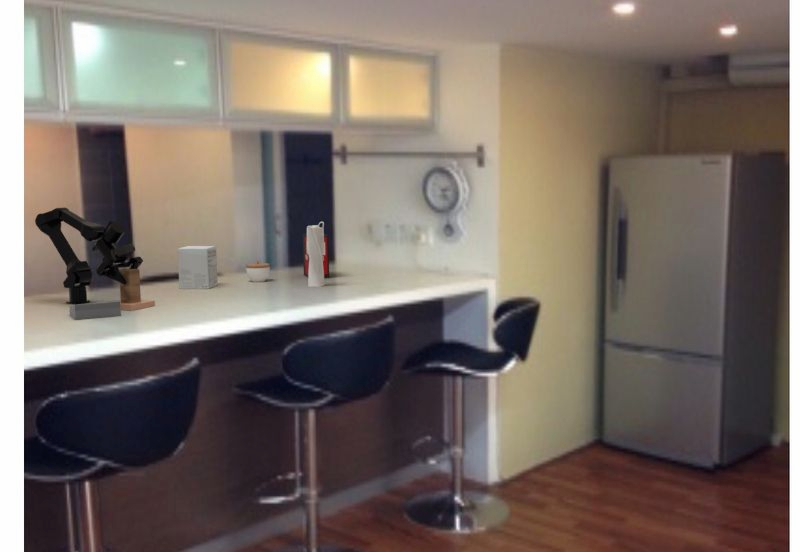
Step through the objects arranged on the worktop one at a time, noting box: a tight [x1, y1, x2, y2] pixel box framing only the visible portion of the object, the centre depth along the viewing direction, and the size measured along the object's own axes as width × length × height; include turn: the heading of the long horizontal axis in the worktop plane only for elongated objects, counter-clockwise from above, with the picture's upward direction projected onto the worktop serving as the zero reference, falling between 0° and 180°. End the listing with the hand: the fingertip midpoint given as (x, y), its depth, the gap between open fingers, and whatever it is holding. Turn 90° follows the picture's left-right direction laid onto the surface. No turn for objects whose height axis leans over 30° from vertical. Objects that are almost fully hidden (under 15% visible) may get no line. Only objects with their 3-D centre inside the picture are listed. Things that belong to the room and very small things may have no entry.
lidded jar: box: [245, 260, 271, 283], centre depth 378 cm, size 11×11×9 cm
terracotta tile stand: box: [119, 299, 156, 312], centre depth 308 cm, size 12×12×2 cm
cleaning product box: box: [302, 233, 330, 280], centre depth 392 cm, size 16×9×20 cm, turn 17°
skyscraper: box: [306, 221, 325, 288], centre depth 359 cm, size 8×8×28 cm
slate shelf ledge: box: [69, 300, 122, 321], centre depth 291 cm, size 12×15×5 cm
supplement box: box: [177, 245, 218, 290], centre depth 361 cm, size 13×13×18 cm
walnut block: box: [119, 268, 142, 303], centre depth 307 cm, size 5×5×12 cm
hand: (132, 282), depth 306 cm, fingers open, 7 cm apart
